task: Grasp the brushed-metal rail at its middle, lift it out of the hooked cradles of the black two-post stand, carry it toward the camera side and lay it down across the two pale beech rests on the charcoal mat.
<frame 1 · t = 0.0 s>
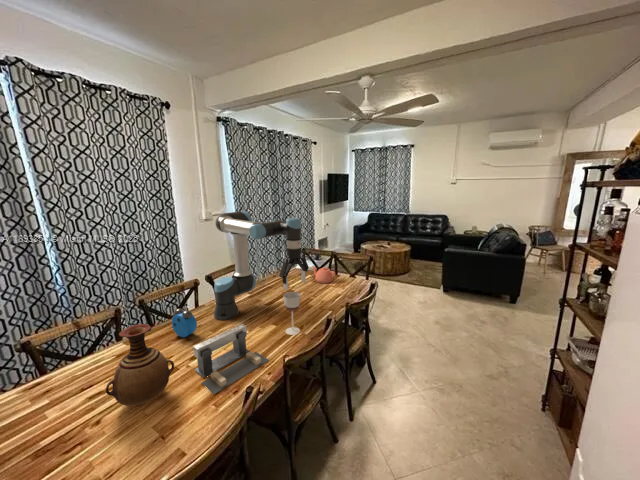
hand: (294, 285, 149), 28 cm above the table, fingers open, 13 cm apart
wineglass: (292, 331, 156), on the table
alarm clock: (185, 335, 152), on the table
rests: (237, 368, 122), on the mat
vase: (146, 399, 107), on the table
mat: (237, 371, 123), on the table
teapot: (323, 281, 235), on the table
rail: (222, 344, 128), point 9 cm above the table, touching stand
stand: (223, 361, 129), on the table
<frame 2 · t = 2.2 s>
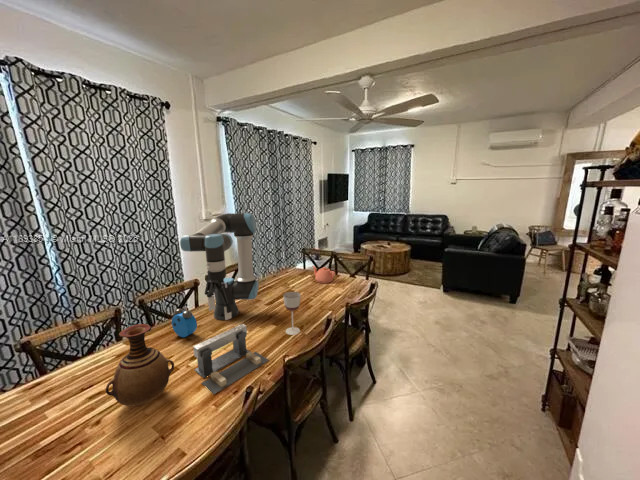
hand: (220, 314, 124), 24 cm above the table, fingers open, 13 cm apart
nothing on the table moved.
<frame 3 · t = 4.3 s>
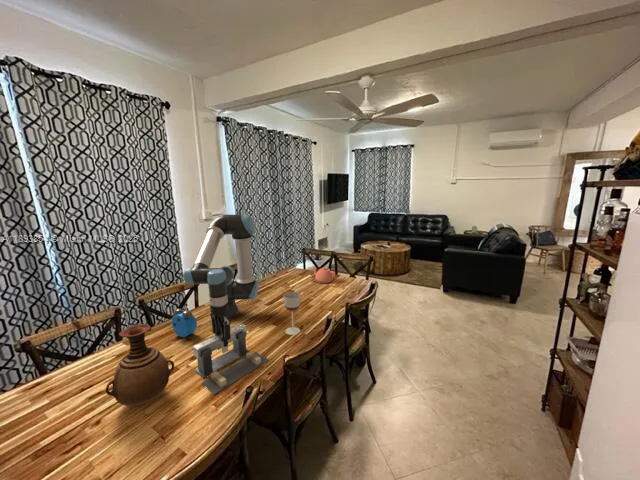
hand: (222, 350, 128), 6 cm above the table, fingers closed on rail, 3 cm apart
rail: (222, 344, 128), point 9 cm above the table, touching gripper, stand
everything else where it was.
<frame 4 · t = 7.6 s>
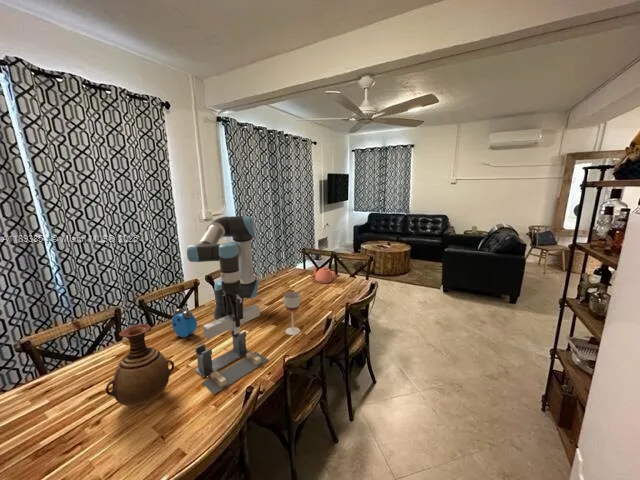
hand: (234, 331, 118), 20 cm above the table, fingers closed on rail, 3 cm apart
rail: (233, 325, 118), point 23 cm above the table, touching gripper
everything else where it was.
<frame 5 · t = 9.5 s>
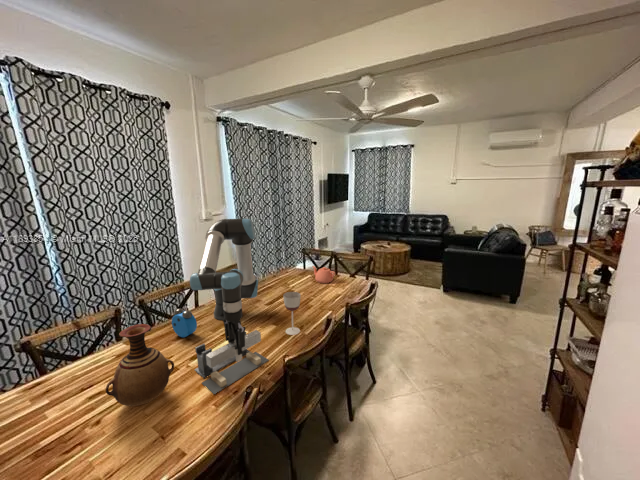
hand: (236, 358, 121), 7 cm above the table, fingers closed on rail, 3 cm apart
rail: (235, 352, 120), point 10 cm above the table, touching gripper
everything else where it was.
when the fingers open (2 cm above the table, at t = 10.9 s): rail drops 2 cm, resting on rests.
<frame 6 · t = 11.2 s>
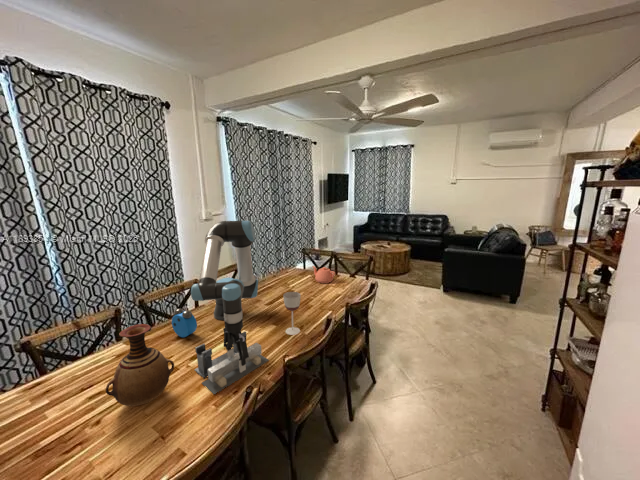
hand: (236, 366, 122), 2 cm above the table, fingers open, 8 cm apart
rail: (236, 365, 122), point 3 cm above the table, touching rests
everything else where it was.
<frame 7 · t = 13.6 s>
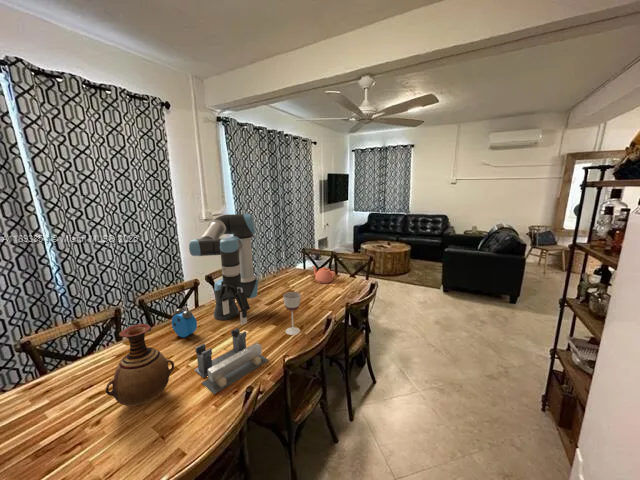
hand: (234, 318, 123), 23 cm above the table, fingers open, 13 cm apart
nothing on the table moved.
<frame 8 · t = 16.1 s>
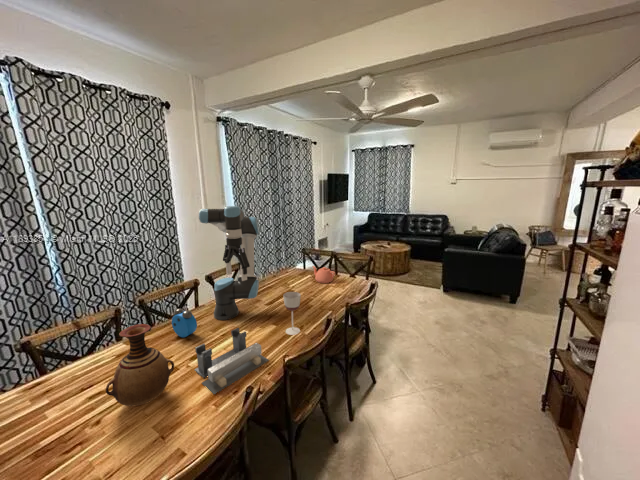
hand: (236, 277, 142), 35 cm above the table, fingers open, 13 cm apart
nothing on the table moved.
at the end: rail inside the target area (0.0 cm from its centre), point 3.0 cm above the table; rail tilted 0°; the gripper is holding nothing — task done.
